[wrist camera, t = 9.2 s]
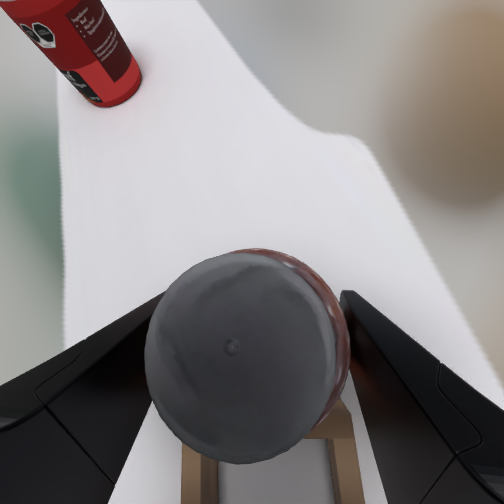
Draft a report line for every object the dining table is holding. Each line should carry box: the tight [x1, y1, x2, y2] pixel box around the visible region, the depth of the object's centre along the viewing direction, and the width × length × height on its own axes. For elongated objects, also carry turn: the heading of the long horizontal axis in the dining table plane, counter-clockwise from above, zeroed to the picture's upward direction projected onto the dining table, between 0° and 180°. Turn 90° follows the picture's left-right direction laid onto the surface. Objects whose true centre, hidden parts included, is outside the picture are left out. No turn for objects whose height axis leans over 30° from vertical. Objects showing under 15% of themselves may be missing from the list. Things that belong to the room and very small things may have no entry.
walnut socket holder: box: [181, 397, 365, 504], centre depth 14 cm, size 10×10×4 cm
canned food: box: [0, 0, 141, 107], centre depth 25 cm, size 8×8×11 cm
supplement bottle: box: [144, 248, 351, 464], centre depth 10 cm, size 6×6×11 cm
